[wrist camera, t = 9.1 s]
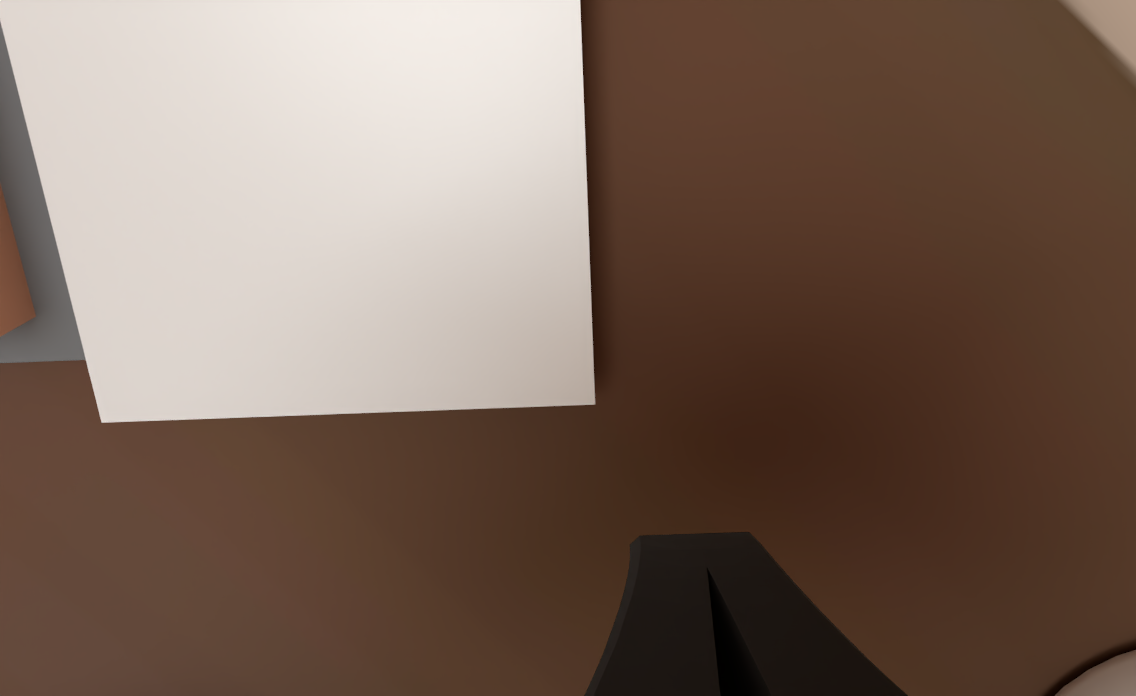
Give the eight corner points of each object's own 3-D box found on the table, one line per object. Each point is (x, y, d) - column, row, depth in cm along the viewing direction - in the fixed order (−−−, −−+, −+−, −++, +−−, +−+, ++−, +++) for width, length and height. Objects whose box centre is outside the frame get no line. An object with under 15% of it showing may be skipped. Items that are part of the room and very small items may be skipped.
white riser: (593, 375, 19) (595, 405, 18) (136, 392, 20) (101, 422, 18) (574, -150, 16) (574, -165, 14) (16, -121, 16) (-39, -133, 15)
